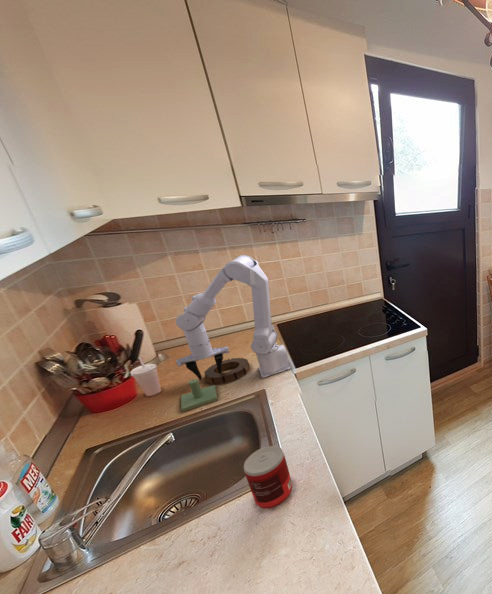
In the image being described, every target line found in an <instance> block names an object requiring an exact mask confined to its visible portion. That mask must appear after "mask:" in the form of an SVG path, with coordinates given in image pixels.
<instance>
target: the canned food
mask: <svg viewBox="0 0 492 594" xmlns="http://www.w3.org/2000/svg"><path fill="white" fill-rule="evenodd" d="M243 463H244V464H243V471H244V474H245V477H246V480H247V484H248V486H249V489H250V492H251V495H252V498H253V500H254V503H255V505H257V507H259V508H261V509H263V510H264V509H265V510H267V509H273V508H276V507H277V506H280V505H281V504H282V503H284V502H285V501H286V500H287V499H288V498H289V497H290V495H291V493H292V490H293V481H292V477H291V474H290V470H289V466H288V463H287V459H286V455H285V453H284V451H283V449H282V448H281V446H278V445H268V446H264V447H262V448H259V449H257V450H256V451H254V452H253V453H251V454H250V455H249V456H248V457H247V458H246V459H245V461H244V462H243Z"/></svg>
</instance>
